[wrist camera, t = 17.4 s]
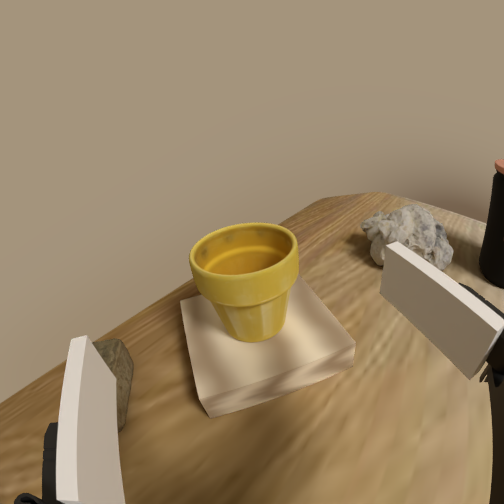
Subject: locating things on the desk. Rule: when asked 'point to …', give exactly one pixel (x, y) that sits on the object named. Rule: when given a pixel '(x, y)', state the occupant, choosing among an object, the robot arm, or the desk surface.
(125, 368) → the stone block
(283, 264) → the plant pot
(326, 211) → the desk surface
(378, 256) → the mineral
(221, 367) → the birch block
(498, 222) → the coffee jar
